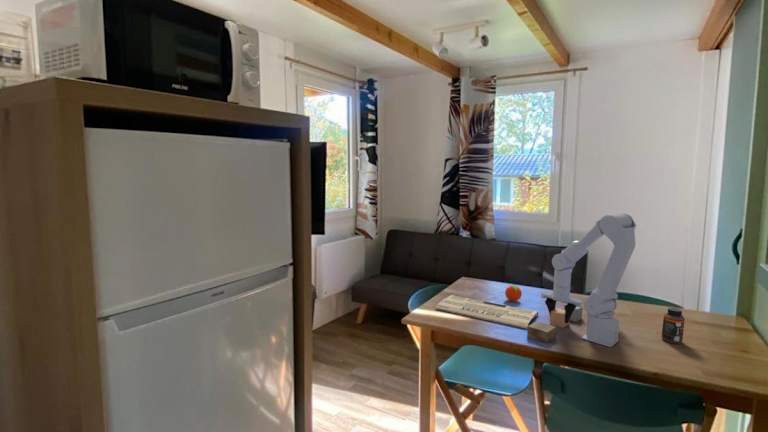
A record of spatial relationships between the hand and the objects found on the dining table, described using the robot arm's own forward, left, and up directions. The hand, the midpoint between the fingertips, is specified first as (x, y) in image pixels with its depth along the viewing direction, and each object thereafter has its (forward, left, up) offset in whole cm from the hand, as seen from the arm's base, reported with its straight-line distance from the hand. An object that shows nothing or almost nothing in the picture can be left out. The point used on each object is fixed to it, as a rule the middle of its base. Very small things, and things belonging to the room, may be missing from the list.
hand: (559, 320), depth 158 cm
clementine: (+25, -11, -2) cm, 27 cm away
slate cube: (-1, -10, -2) cm, 10 cm away
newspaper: (+25, +11, -2) cm, 28 cm away
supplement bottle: (-33, -14, -2) cm, 36 cm away
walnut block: (-1, +17, -1) cm, 17 cm away
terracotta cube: (0, 0, -1) cm, 1 cm away
